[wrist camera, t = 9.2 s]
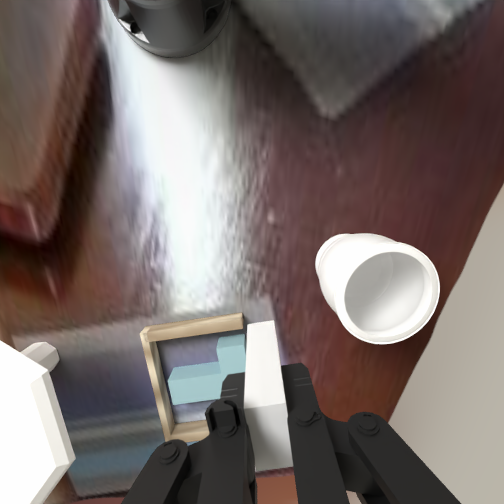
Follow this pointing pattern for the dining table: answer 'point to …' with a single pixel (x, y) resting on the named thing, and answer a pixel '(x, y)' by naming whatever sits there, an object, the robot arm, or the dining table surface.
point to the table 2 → (30, 426)
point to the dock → (149, 338)
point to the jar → (377, 286)
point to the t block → (208, 373)
